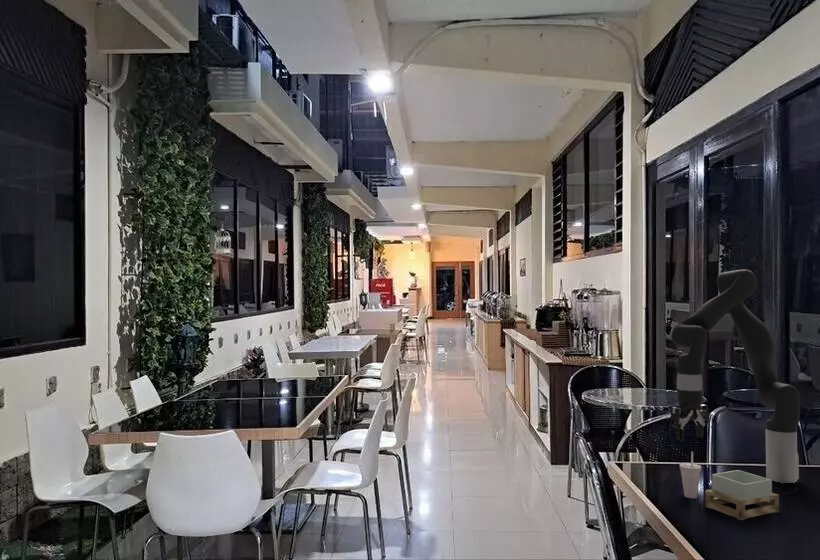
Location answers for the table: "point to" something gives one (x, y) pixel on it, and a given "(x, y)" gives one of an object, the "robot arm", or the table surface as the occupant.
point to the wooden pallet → (741, 504)
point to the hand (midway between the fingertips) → (689, 438)
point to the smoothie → (690, 478)
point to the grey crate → (742, 485)
